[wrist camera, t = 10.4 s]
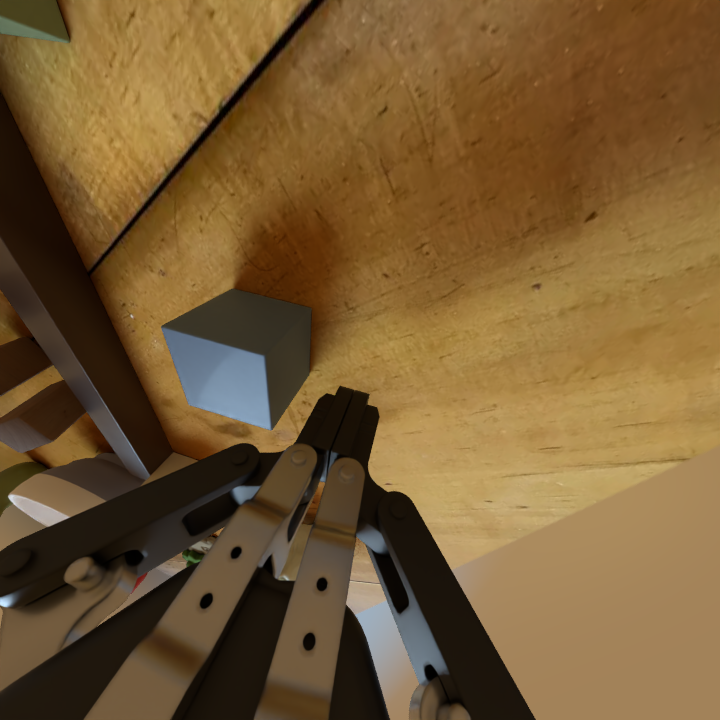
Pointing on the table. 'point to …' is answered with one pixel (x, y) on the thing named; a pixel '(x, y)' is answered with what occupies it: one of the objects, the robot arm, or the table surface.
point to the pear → (16, 480)
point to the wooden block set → (34, 399)
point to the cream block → (170, 466)
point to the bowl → (73, 488)
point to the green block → (33, 19)
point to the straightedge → (69, 310)
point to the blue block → (242, 355)
